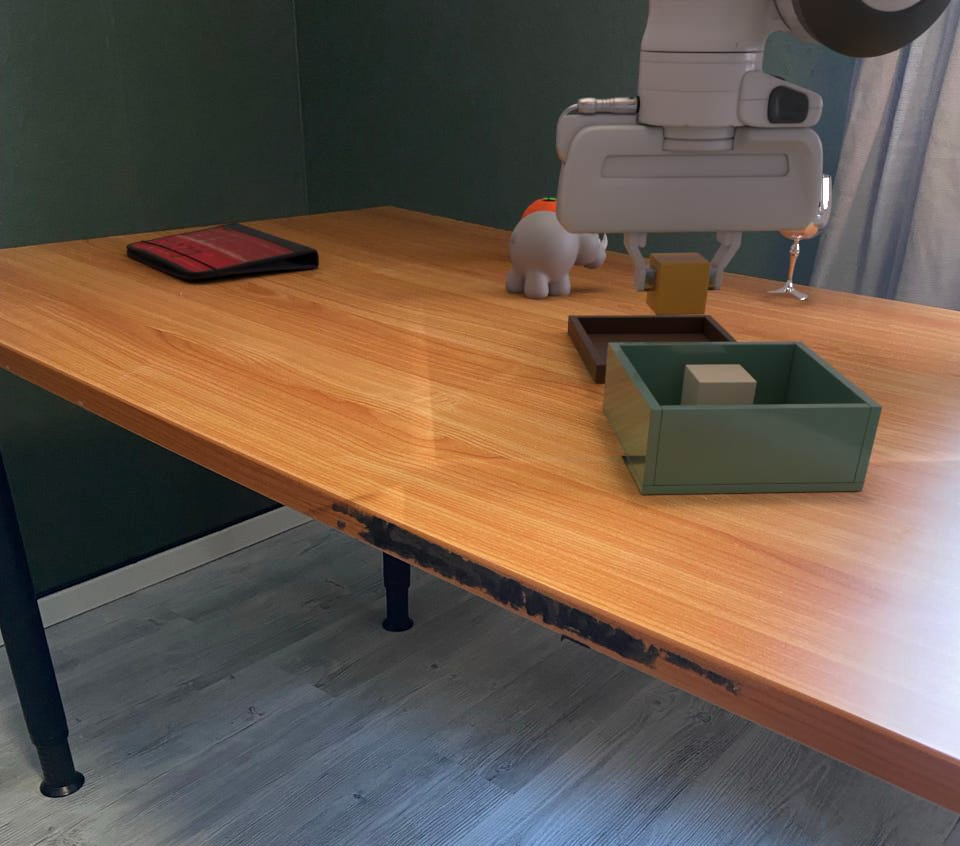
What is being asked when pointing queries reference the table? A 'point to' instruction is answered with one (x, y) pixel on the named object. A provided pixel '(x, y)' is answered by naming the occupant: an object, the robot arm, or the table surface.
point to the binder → (222, 252)
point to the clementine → (541, 206)
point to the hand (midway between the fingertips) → (677, 289)
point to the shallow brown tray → (636, 334)
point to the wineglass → (807, 234)
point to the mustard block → (679, 284)
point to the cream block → (717, 385)
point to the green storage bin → (738, 420)
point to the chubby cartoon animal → (549, 256)
